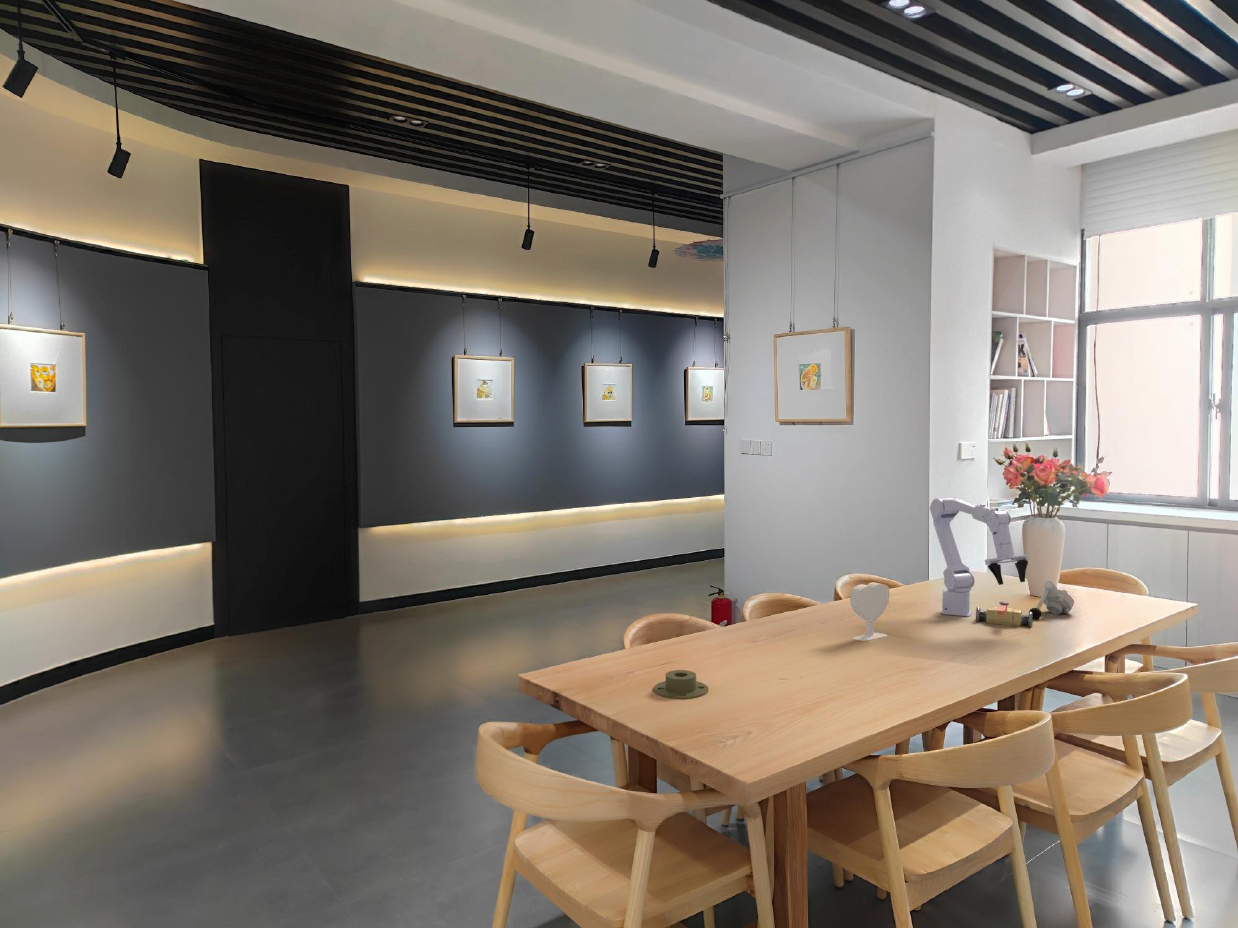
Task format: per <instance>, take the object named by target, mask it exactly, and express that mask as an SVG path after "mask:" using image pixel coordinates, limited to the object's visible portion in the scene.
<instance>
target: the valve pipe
mask: <svg viewBox="0 0 1238 928" xmlns="http://www.w3.org/2000/svg"><path fill="white" fill-rule="evenodd" d="M999 607H1000V606H994V607H993V606H987V608H986V610H985V611H984V610H981V607H979V606H977V607H976V609H975V622H976V623H980V622H986V623H987V624H993V625H1001V626H1016V627H1021V626H1028V628H1032V627H1033V623H1034V622H1033V621H1034V619H1033V613H1032V612H1029V611H1028V614H1022V613H1023V611H1022V609H1018V608H1017V609H1016V608H1012V607H1007V610H1006V613H1005V615H998V609H999Z"/></svg>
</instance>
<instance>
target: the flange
mask: <svg viewBox="0 0 1238 928" xmlns="http://www.w3.org/2000/svg"><path fill="white" fill-rule="evenodd" d="M653 692H654V693H655V694H656V695H658V696H660V697H662V698H667V699H673V700H690V699H697V698H700V697H703V696H706V695H707V694H708V692H709V687H708V685H707V684H705V683H704V682H700V681H699V680H698V681H697V673H696V672H695V671H691V670H686V669H675V670H674V669H673V670H670V671H667V672H666V673H665V680H664V681H661V682H658V683H656V684H655V685H654V686H653Z"/></svg>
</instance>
